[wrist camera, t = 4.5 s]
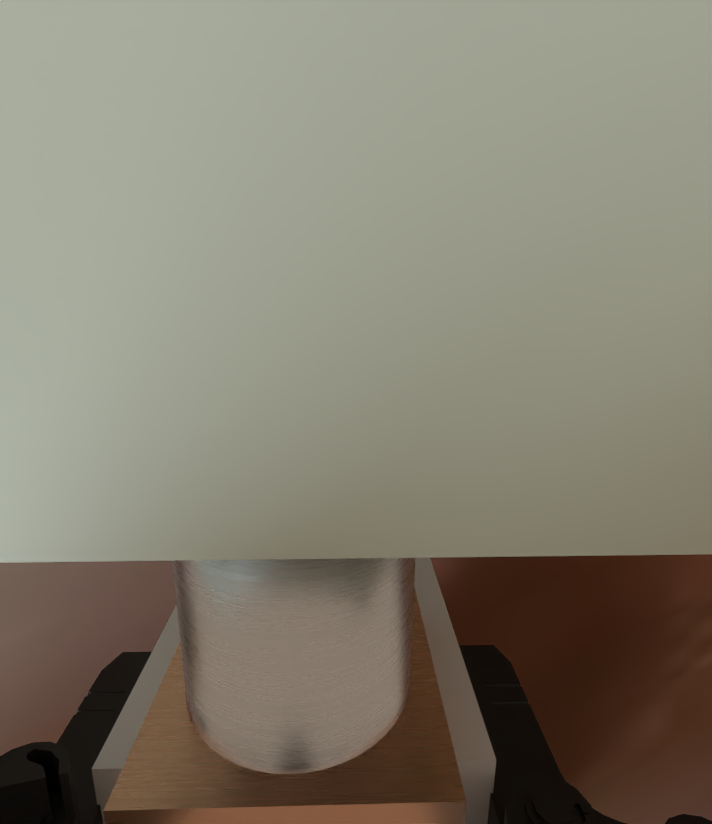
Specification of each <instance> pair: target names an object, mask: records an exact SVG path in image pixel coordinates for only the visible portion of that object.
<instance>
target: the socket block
mask: <svg viewBox="0 0 712 824" xmlns="http://www.w3.org/2000/svg"><path fill="white" fill-rule="evenodd" d="M692 554H712V0H0V563H2V562H88V561H175V560H261V559H347V558H433V557H520V556H606V555H692Z"/></svg>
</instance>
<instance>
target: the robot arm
mask: <svg viewBox="0 0 712 824" xmlns="http://www.w3.org/2000/svg"><path fill="white" fill-rule="evenodd" d="M414 587H415V591H416V595H417V599H418V603H419V607H420V612H421V616H422V620H423V624H424V628H425V632H426V636H427V641H428V645H429V649H430V653H431V657H432V661H433V665H434V670H435V674H436V678H437V682H438V686H439V690H440V694H441V699H442V703H443V707H444V711H445V715H446V719H447V723H448V728H449V732H450V736H451V740H452V744H453V748H454V752H455V757H456V761H457V765H458V769H459V773H460V777H461V781H462V786H463V790H464V794H465V798H466V812H465V824H626V823H622V822H619V821H617V820H614V819H612V818H609V817H607V816H604V815H602V814H601V813H599V812H598V811H596V810H594V809H593V808H592V807H591V805H590V804H589V803H588V802H587V800H586V799H585V798H584V797H583V796H582V795H581V793H580V792H579V791H578V790H577V789H575V788H574V787H573V786H571V785H570V784H568V783H567V782H565V780H564V778H563V776H562V775H561V773H560V771H559V769H558V767H557V764H556V762H555V760H554V758H553V755H552V753H551V751H550V749H549V747H548V744H547V742H546V740H545V738H544V736H543V733H542V731H541V729H540V727H539V724H538V722H537V720H536V718H535V716H534V713H533V711H532V709H531V707H530V705H528V700H527V698H526V696H525V693H524V691H523V689H522V687H520V682H519V680H518V678H517V676H516V674H515V671H514V669H513V667H512V665H511V662H510V661H509V660H508V659H507V658H506V657H505V656H504V655H503V654H502V653H501V652H500V651H499V650H498V649H497V648H496V647H495V646H494V645H472V646H459V645H458V642H457V639H456V635H455V632H454V629H453V626H452V623H451V620H450V617H449V614H448V611H447V608H446V605H445V602H444V599H443V596H442V593H441V590H440V587H439V584H438V581H437V578H436V575H435V572H434V569H433V565H432V562H431V559H430V558H415V582H414ZM179 643H180V634H179V624H178V614H177V604H176V606H175V608H174V610H173V612H172V614H171V616H170V618H169V620H168V622H167V624H166V626H165V628H164V630H163V631H162V633H161V635H160V637H159V639H158V641H157V643H156V645H155V647H154V649H153V651H152V652H123V653H121V654H120V655H119V656H118V657H117V658H116V659H115V660H113V661H112V662H111V663H110V664H109V665H108V666H107V667H105V668H104V669H103V670H102V671H101V673H100V674H99V676H98V678H97V679H96V681H95V682H94V684H93V686H92V687H91V689H90V690H89V692H88V696H87V697H85V698H84V700H83V702H82V703H81V705H80V706H79V708H78V710H77V714H76V715H74V716H73V718H72V719H71V721H70V723H69V724H68V726H67V727H66V729H65V731H64V732H63V734H62V735H61V737H60V739H59V740H58V742H57V743H56V744H54V743H52V742H35V743H30V744H27V745H24V746H21V747H18V748H15V749H12V750H10V751H9V752H7V753H5V754H4V755H2V756H0V824H105V819H104V813H103V810H104V808H105V806H106V803H107V801H108V799H109V797H110V795H111V792H112V790H113V788H114V786H115V784H116V781H117V779H118V777H119V775H120V773H121V770H122V768H123V766H124V764H125V762H126V759H127V757H128V755H129V753H130V751H131V748H132V746H133V744H134V742H135V740H136V737H137V735H138V733H139V731H140V729H141V726H142V724H143V722H144V720H145V718H146V715H147V713H148V711H149V709H150V707H151V704H152V702H153V700H154V698H155V696H156V693H157V691H158V689H159V687H160V685H161V682H162V680H163V678H164V676H165V674H166V671H167V669H168V667H169V665H170V663H171V660H172V658H173V656H174V654H175V652H176V649H177V647H178V645H179ZM665 824H712V821H710V820H707V819H705V818H703V817H699V816H692V815H686V814H682V815H678V816H675V817H672V818H669V819H668V820H667V822H666V823H665Z"/></svg>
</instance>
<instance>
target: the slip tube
mask: <svg viewBox="0 0 712 824" xmlns="http://www.w3.org/2000/svg"><path fill="white" fill-rule="evenodd" d="M172 564H173V574H174V584H175V594H176V604H177V614H178V624H179V634H180V643H179V645H178V647H177V649H176V652H175V654H174V656H173V658H172V660H171V663H170V665H169V667H168V669H167V671H166V674H165V676H164V678H163V680H162V682H161V685H160V687H159V689H158V691H157V693H156V696H155V698H154V700H153V702H152V704H151V707H150V709H149V711H148V713H147V715H146V718H145V720H144V722H143V724H142V726H141V729H140V731H139V733H138V735H137V737H136V740H135V742H134V744H133V746H132V748H131V751H130V753H129V755H128V757H127V759H126V762H125V764H124V766H123V768H122V770H121V773H120V775H119V777H118V779H117V781H116V784H115V786H114V788H113V790H112V792H111V795H110V797H109V799H108V801H107V803H106V806H105V808H104V810H103V813H104V819H105V824H465V812H466V798H465V794H464V790H463V786H462V781H461V777H460V773H459V769H458V765H457V761H456V757H455V752H454V748H453V744H452V740H451V736H450V732H449V728H448V723H447V719H446V715H445V711H444V707H443V703H442V699H441V694H440V690H439V686H438V682H437V678H436V674H435V670H434V665H433V661H432V657H431V653H430V649H429V645H428V641H427V636H426V632H425V628H424V624H423V620H422V616H421V612H420V607H419V603H418V599H417V595H416V591H415V587H414V582H415V558H347V559H261V560H175V561H172Z"/></svg>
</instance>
